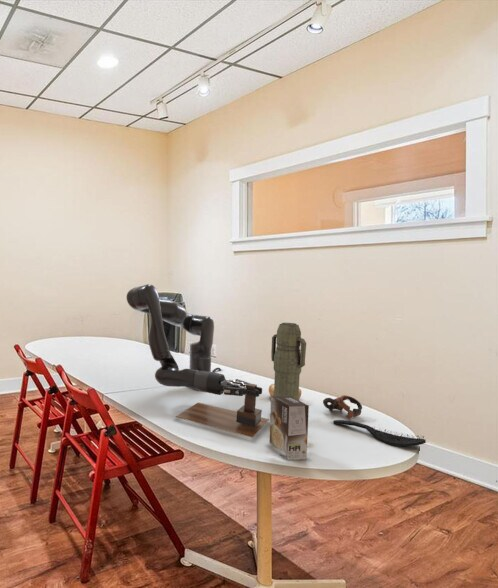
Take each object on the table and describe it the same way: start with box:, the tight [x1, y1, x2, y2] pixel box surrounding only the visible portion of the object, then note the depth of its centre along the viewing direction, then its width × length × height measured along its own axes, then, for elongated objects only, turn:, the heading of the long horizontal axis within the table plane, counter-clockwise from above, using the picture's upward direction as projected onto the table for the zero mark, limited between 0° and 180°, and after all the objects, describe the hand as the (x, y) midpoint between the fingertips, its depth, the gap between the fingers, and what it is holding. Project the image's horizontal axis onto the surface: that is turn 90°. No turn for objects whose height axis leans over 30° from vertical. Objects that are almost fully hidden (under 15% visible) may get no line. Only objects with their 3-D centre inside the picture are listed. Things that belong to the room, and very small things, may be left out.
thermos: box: [270, 322, 307, 401], centre depth 146 cm, size 9×12×35 cm
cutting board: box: [175, 402, 270, 438], centre depth 143 cm, size 20×26×2 cm
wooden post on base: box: [236, 382, 263, 427], centre depth 137 cm, size 7×6×13 cm
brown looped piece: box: [322, 394, 363, 420], centre depth 150 cm, size 12×10×8 cm
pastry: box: [268, 383, 302, 400], centre depth 167 cm, size 12×12×9 cm
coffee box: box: [269, 396, 310, 461], centre depth 119 cm, size 9×6×16 cm
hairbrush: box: [333, 419, 427, 447], centre depth 132 cm, size 8×4×25 cm
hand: (260, 392), depth 134 cm, fingers closed on wooden post on base, 3 cm apart
